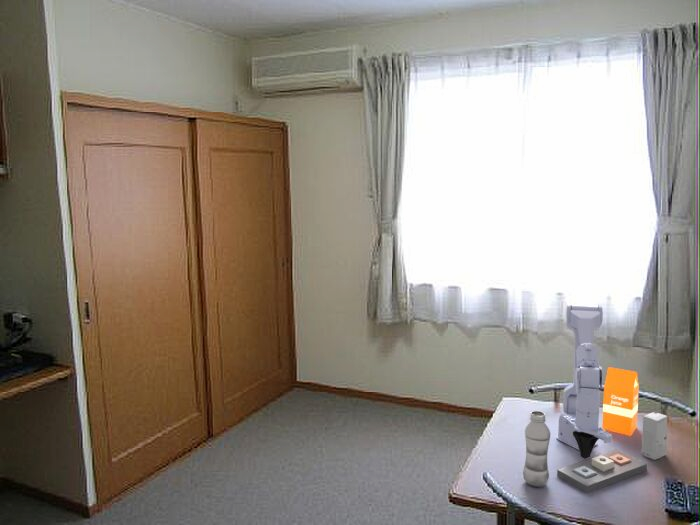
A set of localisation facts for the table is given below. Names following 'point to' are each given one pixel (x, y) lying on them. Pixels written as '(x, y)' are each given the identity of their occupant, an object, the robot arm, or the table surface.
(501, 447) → the table surface
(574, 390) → the robot arm
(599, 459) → the cream key
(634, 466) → the keypad
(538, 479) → the plastic bottle
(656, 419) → the skincare box
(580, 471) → the grey blue key
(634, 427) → the orange juice
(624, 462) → the terracotta key
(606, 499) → the table surface
